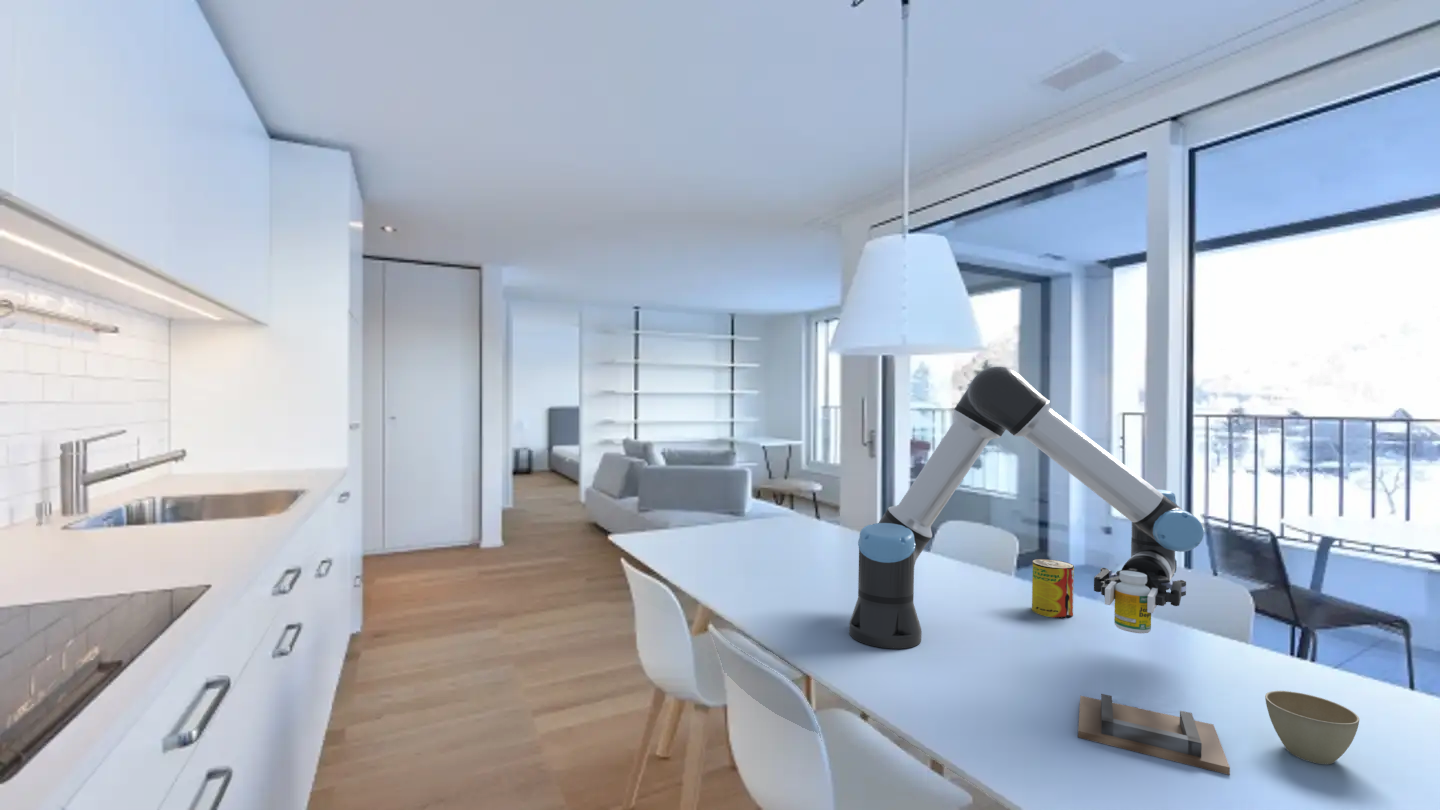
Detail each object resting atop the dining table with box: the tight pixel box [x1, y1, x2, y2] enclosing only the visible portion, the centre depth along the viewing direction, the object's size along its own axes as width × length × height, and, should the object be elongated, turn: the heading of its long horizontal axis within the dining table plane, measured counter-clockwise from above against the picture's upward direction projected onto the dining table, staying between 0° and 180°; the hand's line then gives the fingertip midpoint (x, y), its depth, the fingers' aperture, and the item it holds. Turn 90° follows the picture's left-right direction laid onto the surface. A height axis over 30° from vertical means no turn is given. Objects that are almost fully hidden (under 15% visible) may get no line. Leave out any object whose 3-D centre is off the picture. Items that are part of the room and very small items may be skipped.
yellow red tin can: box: [1031, 558, 1075, 619], centre depth 156 cm, size 9×9×12 cm
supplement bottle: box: [1113, 570, 1152, 634], centre depth 109 cm, size 5×5×10 cm
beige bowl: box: [1264, 690, 1360, 765], centre depth 92 cm, size 10×10×7 cm
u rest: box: [1077, 693, 1231, 776], centre depth 97 cm, size 18×14×3 cm
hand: (1128, 600), depth 105 cm, fingers closed on supplement bottle, 5 cm apart
